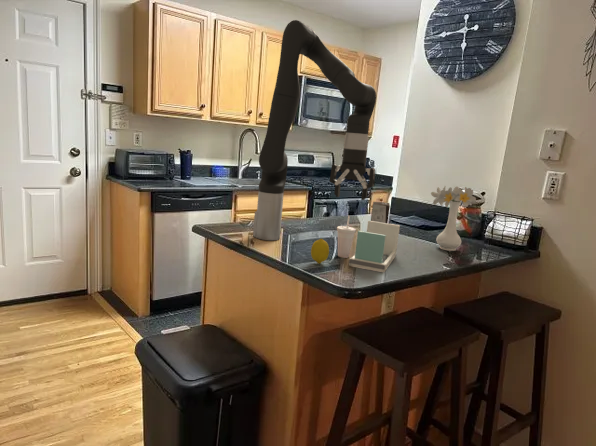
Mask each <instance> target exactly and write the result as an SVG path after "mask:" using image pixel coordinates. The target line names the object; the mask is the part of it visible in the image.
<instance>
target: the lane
mask: <svg viewBox="0 0 596 446" xmlns="http://www.w3.org/2000/svg"><path fill="white" fill-rule="evenodd" d="M400 227H401V226H400V224H393V223H381V222H375V221H371V220H367V228H366V232H370V233H376V234H382V235H386V237H385V245H384V252H383V256H384V255H385V256H387V258H386V259H385V260H384V262H382V263H378V262H373V261H367V260H362V259H357V258H355V254H353V256H351V257H350V256H349V259H348V266H349V267H353V268H359V269H364V270H368V271H374V272H380V273H385V272H386V271H387V270H388V268H389V266H390V265H391V263H392V262H393V261H394V259H395V258H396V256H397V250H398V242H399V236H400Z"/></svg>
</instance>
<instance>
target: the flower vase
mask: <svg viewBox="0 0 596 446" xmlns="http://www.w3.org/2000/svg"><path fill="white" fill-rule="evenodd" d="M452 188H453V187H449V188H447V190H446V185H444V187H443V188H442V190H441V189H440V187H436V192H435V191H432V192H431V193H430V194H431V196H432V197H433V198H435V199H434V200H433V202H432V204H433V205H435V206H436V205H437V204H439V205H440V206H443V204H444V206H445V207H446V208H448V207H449V211H448V217H447V223H446V225H445V228H444V229H443V230H442V232H440V233H439V234H438V235H437V236H436V238H435V239H436V243H437V245H438V246H439V249H441V250H442V251H443V250H444V251H449V252H454V251H455V252H456V251H457V248H459V247H460V246H461V245H462V239H461V237H460V235H459V234H458V232H457V217H458V213H459V208H460V206H461V204H463V206H464V207H468V206H472V203H475V204H476V203H477V198H476V196H473V194H474V191H473V189H472V188H471V187H466V186H465V187H464V191H463V190H462V189H461V188H459V186H454V188H453V189H452Z"/></svg>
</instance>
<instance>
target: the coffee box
mask: <svg viewBox="0 0 596 446" xmlns="http://www.w3.org/2000/svg"><path fill="white" fill-rule="evenodd" d="M390 208H391V205H390V202H384V201H383V202H382V201H373V202H372V207H371V215H370V221H375V222H381V223H388V222H389V215H390ZM388 224H389V223H388Z"/></svg>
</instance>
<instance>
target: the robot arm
mask: <svg viewBox="0 0 596 446" xmlns="http://www.w3.org/2000/svg"><path fill="white" fill-rule="evenodd" d="M280 46H281V48H280V57H279V64H278V70H277V74H276V75H277V76H276V81H275V86H274V88H273V89H274V91H273V95H272V99H271V103H270V109H269V110H270V111H269V116H268V122H267V129H266V133H265V138H264V140H263V143H262V147H261V150H260V154H259V156H258V165H259V167H260V169H261V177H260V181H259V184H258V192H257V194H258V195H257V207H256V211H254V219H253V228H252V229H253V233H252V237H253V238H256V239H259V240H263V241H277V240H280V239H281V229H282V228H281V227H282V220H283V219H282V218H283V217H282V216H283V208H284V207H283V206H284V193H285V187H286V183H287V174H288V165H289V164H288V162H289V161H288V156H287V154H286V152H285V149H286V144H287V142H286V141H287V138H288V135H289V132H290V130H291V127H292V125H293V123H294V121H295V118H296V116H297V112H298V109H299V108H298V107H299V103H300V99H301V84H300V78H299V73H298V71H299V69H298V66H299V59H300V55H302V56H304V57H306V58H307V59H309V60H311V61H312V62H313V63H314V64H315V65H317V67H318V68H319V70H320V71H321V73H322V74H323V75H324V77H325V78H326V79H327V80H328V81H329V82H330V83H331V84H332V85H333V86H334V87H336V88H337V89H338V91H339V93H340V94H341V95H342V97H343V98H344V99H345V101H347V102H348V103H349V104H351V105H353V106H355V107H354V111H353V113H351V114H350V115H348V117H347V120H346V130H345V132H346V133H345V137H344V141H343V142H344V143H343V152H342V161H341V165H338V164H335V163H334V164H332V165H331V171H330V177H329V182H330V183H332V184H333V185H334V196H335V197H336V198H340V196H341V184H342V183H343V181H345V179H346V180H349V181H350V180H352V181H358V182H359V183H360V185H361V186H362V191H361V199H360V200H361V201H365V200H366V199H367V198H368V192H369V191H368V190H369V189H370V188H374V187H375V180H376V179H375V178H376V177H375V175H376V169H375V168H367V167H366V163H367V155H368V149H369V148H368V145H369V130H370V121H371V118H372V116H373V113H374V110H375V106H376V103H377V92H376V89H375V88H374V87H373V86H372V85H371V84H367V83H364V82H361V81H360V80H359V79H358V78H357V77H356V75H355V73H354V71H353V70H352V69H351V68H350V67H349V66H348V65H347V64H346V63H345V62H344V61H342V60H341V59H340V58H339V57H337V55H336V54H334V53H333V52H332V51H330V49H329V48H328V47H327V46H326V45H325V44H324V42H323V41H322V40H321V38H320V36H319V35H318V34H317V33H316V32H315V30H314V29H313V28H312V27H310V26H309V25H307V24H305V23H304V22H302V21H300V20H297V19H294V20H291V21H290V22H288V23H287V24H286V26H285V28H284V30H283V34H282V37H281V45H280ZM339 170H340V171H341V173H342V174H341V175H340V176H339V177H338V178H337V172H339ZM366 172H367V175H368V176H369V177H368V179H369V180H368V181H366V178H365V177H364V175H365V174H366ZM336 178H337V179H336ZM367 182H368V183H367Z"/></svg>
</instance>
